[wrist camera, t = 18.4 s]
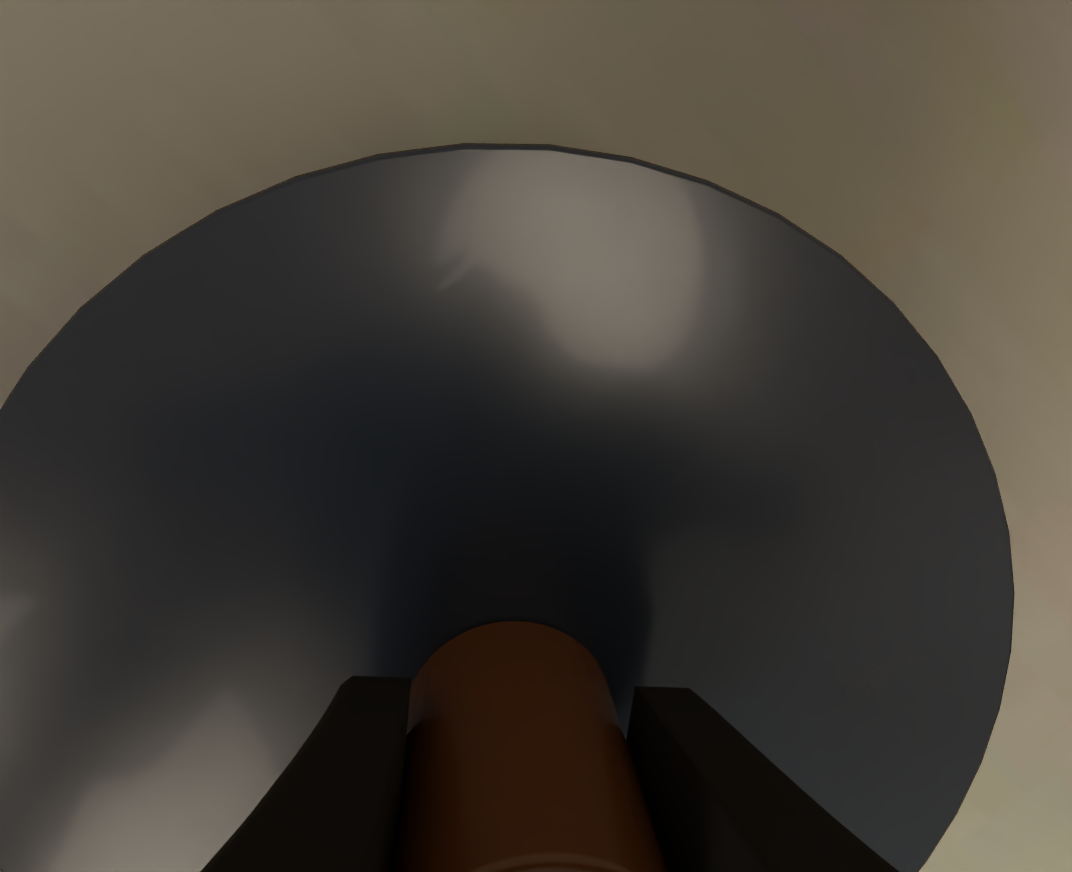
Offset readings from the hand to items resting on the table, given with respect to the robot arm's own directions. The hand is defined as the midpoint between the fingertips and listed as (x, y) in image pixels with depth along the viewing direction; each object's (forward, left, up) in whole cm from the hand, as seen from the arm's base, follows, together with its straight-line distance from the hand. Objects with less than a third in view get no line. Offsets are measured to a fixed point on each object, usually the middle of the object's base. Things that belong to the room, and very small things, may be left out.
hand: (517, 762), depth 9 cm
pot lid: (0, 0, -1) cm, 1 cm away
